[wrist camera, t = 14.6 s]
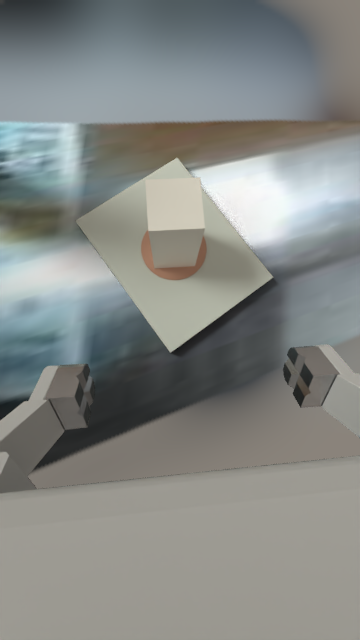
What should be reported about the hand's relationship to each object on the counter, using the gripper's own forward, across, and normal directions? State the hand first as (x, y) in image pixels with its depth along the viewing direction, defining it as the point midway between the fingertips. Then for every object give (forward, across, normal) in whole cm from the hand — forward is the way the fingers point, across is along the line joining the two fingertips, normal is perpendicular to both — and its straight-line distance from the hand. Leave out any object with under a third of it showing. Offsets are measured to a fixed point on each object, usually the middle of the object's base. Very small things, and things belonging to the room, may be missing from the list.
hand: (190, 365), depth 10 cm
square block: (+20, 0, +2) cm, 20 cm away
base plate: (+21, -1, +3) cm, 21 cm away
